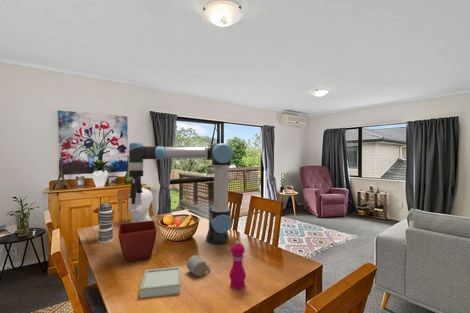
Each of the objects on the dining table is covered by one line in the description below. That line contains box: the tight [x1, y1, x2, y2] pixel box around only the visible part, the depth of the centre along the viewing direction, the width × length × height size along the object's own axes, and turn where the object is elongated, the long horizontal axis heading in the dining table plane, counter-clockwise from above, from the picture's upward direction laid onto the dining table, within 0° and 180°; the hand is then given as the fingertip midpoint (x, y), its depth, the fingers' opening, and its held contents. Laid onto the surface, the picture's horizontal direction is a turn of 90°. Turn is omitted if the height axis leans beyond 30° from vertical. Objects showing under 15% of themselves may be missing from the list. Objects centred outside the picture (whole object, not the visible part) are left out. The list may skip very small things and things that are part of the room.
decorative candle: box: [97, 202, 114, 244], centre depth 159 cm, size 9×9×25 cm
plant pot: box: [117, 220, 157, 263], centre depth 136 cm, size 19×19×17 cm
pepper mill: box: [229, 240, 246, 290], centre depth 106 cm, size 7×7×20 cm
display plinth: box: [139, 266, 181, 299], centre depth 106 cm, size 16×16×4 cm
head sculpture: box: [128, 187, 154, 223], centre depth 194 cm, size 20×23×30 cm
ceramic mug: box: [186, 254, 211, 277], centre depth 118 cm, size 11×8×8 cm
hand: (136, 206), depth 137 cm, fingers open, 13 cm apart
